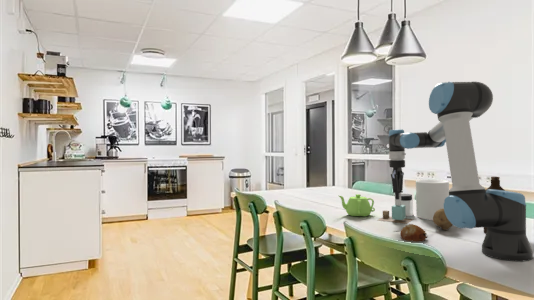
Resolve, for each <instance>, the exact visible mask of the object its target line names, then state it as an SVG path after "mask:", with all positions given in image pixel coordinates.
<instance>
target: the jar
mask: <svg viewBox="0 0 534 300" xmlns="http://www.w3.org/2000/svg"><path fill="white" fill-rule="evenodd" d="M401 205H405V213H406V217H411V216H414V199H413V194H410V193H401Z"/></svg>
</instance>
